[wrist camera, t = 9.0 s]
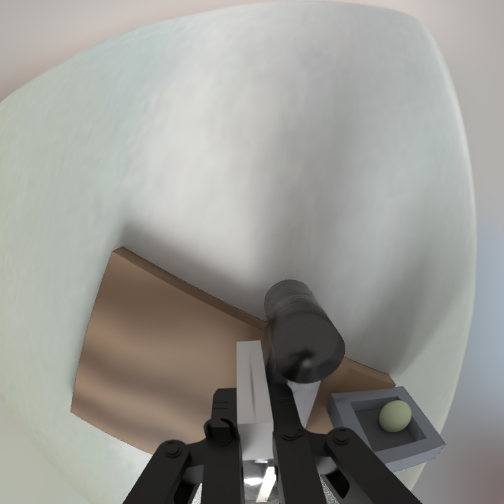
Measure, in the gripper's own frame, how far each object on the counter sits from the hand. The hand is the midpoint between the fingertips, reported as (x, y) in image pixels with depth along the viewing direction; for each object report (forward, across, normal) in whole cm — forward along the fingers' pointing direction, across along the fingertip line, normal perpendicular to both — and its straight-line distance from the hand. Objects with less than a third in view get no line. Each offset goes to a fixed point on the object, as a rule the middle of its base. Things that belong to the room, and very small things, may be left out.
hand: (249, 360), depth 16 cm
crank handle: (+2, +1, -4) cm, 5 cm away
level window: (+2, +9, -7) cm, 12 cm away
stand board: (+4, -3, -7) cm, 9 cm away
